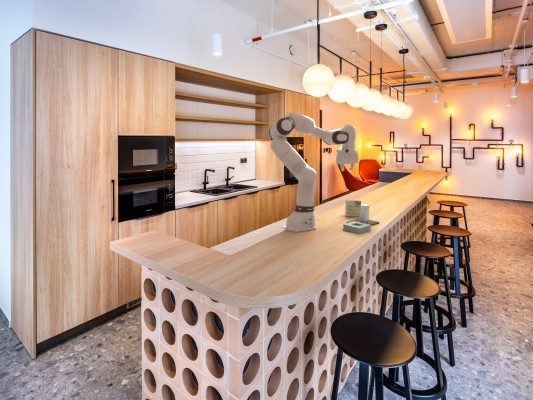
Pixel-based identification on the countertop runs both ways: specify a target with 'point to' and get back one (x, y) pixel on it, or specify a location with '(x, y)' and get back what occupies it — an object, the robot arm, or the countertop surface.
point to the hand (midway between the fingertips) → (347, 170)
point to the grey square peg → (364, 213)
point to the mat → (365, 223)
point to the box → (353, 208)
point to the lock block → (357, 227)
